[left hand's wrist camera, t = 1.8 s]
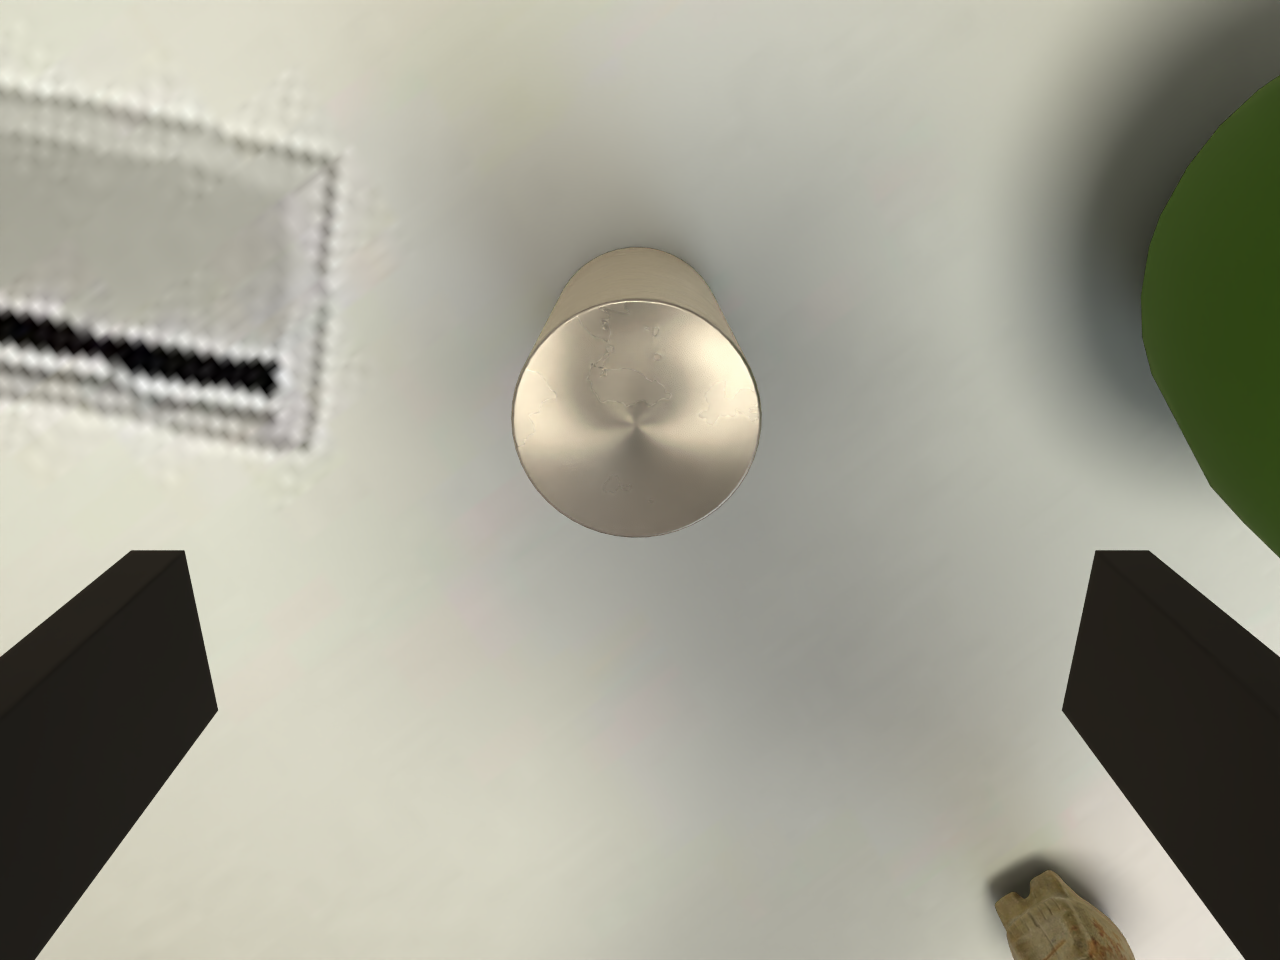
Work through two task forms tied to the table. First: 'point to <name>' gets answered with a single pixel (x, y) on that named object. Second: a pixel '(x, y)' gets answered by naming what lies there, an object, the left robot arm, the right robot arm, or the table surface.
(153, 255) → the table surface
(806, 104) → the table surface
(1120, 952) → the sculpture
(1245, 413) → the vase
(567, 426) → the can
